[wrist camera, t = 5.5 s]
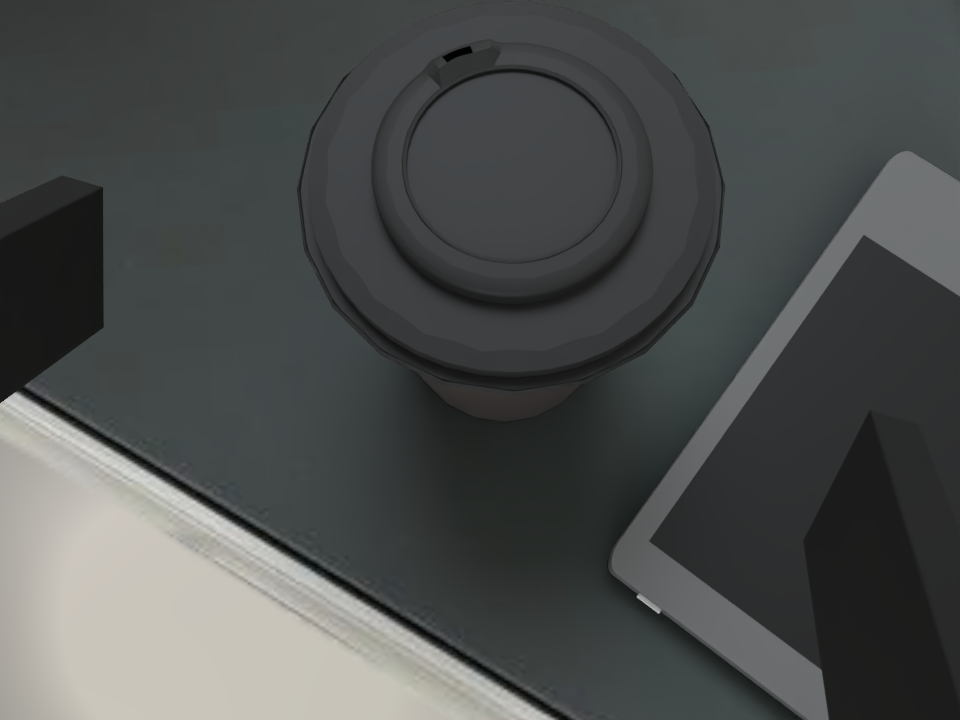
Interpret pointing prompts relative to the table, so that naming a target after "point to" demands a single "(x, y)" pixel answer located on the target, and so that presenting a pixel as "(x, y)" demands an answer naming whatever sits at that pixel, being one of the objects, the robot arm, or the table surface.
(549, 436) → the table surface
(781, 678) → the smartphone
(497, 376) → the coffee cup
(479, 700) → the table surface
